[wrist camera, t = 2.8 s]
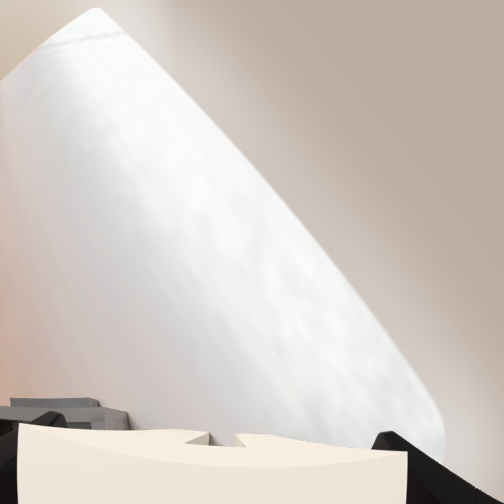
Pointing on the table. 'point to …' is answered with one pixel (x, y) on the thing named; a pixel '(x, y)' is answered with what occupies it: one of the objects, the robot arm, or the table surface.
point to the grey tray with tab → (74, 410)
